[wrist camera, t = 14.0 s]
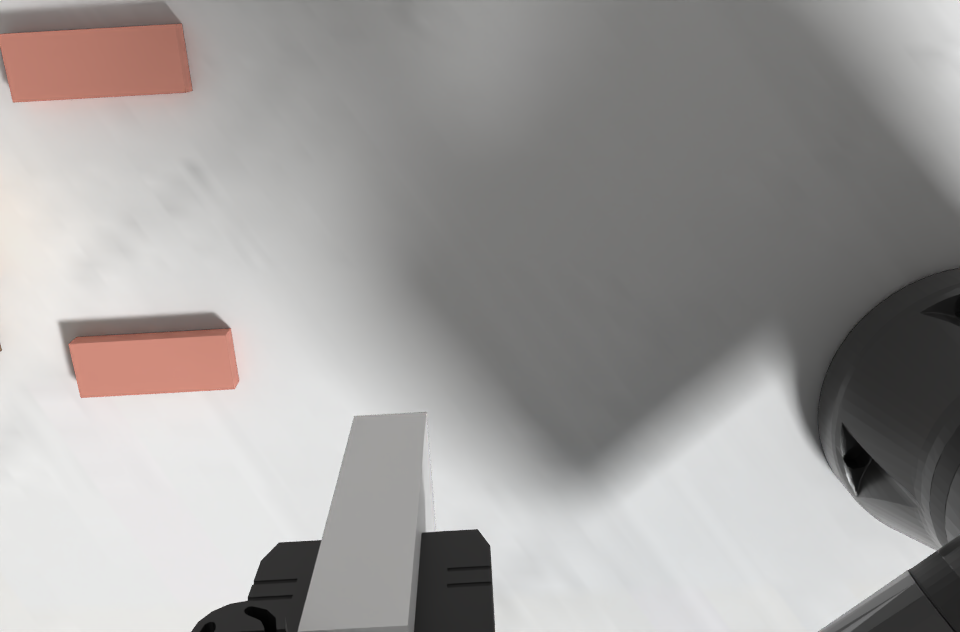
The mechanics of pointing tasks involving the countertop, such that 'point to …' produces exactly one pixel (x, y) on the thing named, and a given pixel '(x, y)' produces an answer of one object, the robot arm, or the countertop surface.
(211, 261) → the countertop surface
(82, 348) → the mats
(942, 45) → the countertop surface
